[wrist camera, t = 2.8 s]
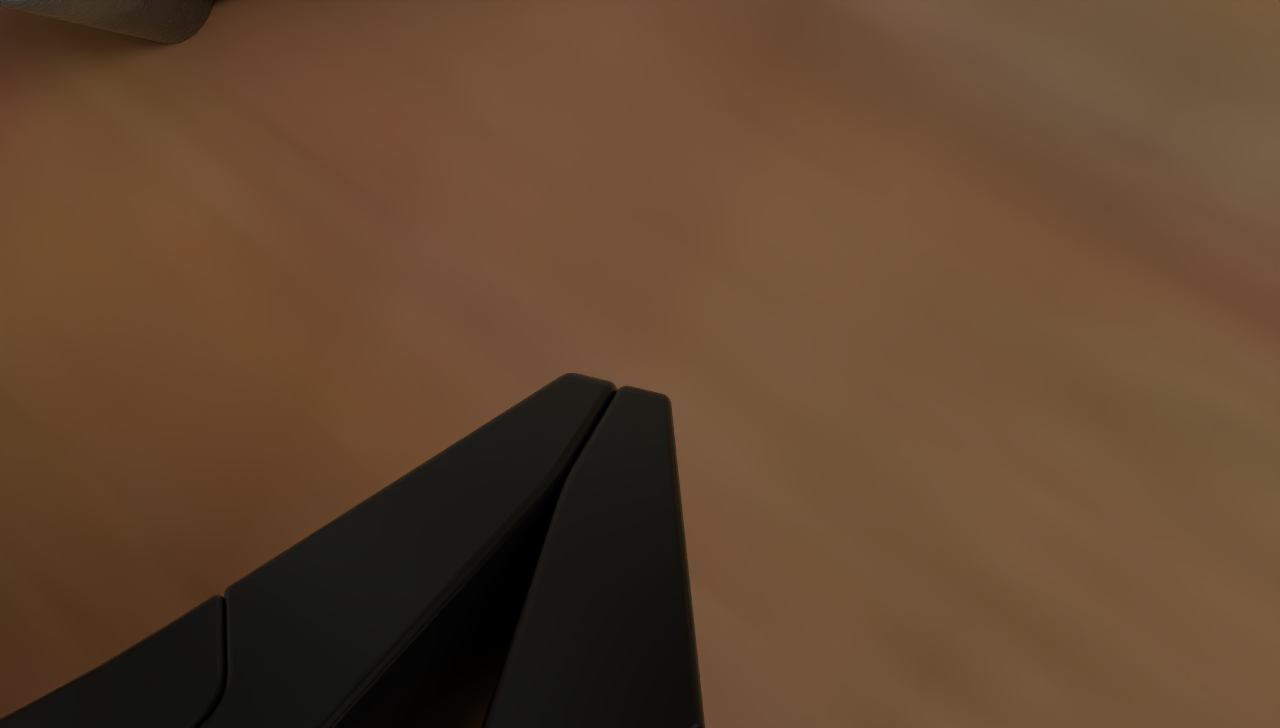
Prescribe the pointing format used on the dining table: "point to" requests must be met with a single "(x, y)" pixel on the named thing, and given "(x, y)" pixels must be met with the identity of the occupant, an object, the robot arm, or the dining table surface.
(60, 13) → the hinge post
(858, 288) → the dining table surface
